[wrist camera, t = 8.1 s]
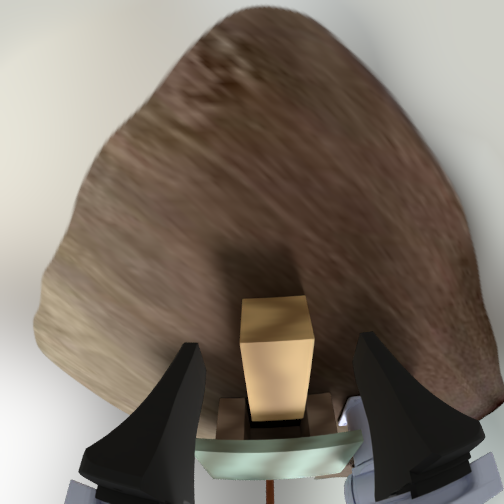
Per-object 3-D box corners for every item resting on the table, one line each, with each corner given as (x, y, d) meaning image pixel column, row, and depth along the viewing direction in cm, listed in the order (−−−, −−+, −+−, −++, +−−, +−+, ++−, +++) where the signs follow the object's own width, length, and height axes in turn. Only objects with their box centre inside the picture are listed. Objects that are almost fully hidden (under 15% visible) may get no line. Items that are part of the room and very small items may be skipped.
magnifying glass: (282, 440, 37) (286, 552, 19) (290, 442, 37) (295, 551, 20) (250, 454, 40) (247, 551, 23) (257, 456, 41) (256, 551, 23)
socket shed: (349, 381, 28) (363, 441, 21) (332, 426, 34) (340, 472, 27) (199, 388, 29) (190, 450, 22) (217, 431, 35) (212, 478, 28)
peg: (304, 293, 22) (314, 338, 18) (298, 379, 28) (303, 418, 24) (242, 297, 23) (239, 343, 18) (252, 382, 28) (252, 421, 24)
